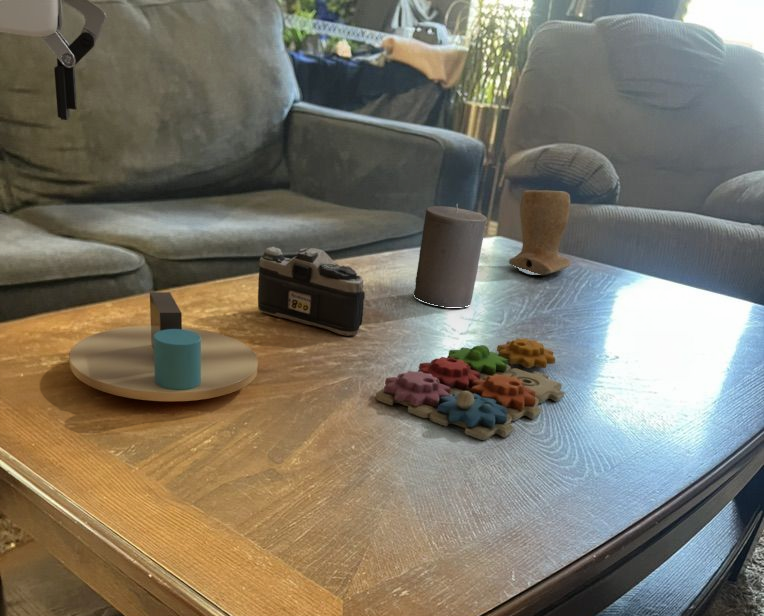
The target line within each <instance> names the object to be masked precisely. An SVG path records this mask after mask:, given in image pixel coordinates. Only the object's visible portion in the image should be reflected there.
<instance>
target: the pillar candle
mask: <svg viewBox="0 0 764 616" xmlns="http://www.w3.org/2000/svg"><path fill="white" fill-rule="evenodd" d="M458 205H459V203H456V204H455V207H454V206H444V205H443V206H442V205H440V206H438V205H436V206H428V207H427V208H426V210H425V214H424V222H423V228H422V236H421V242H420V247H419V256H418V262H417V269H416V276H415V286H414V291H413V293H414V295H415V297H416V298H418V299H420V300H422V301H424V302H427V303H430V304H434V305H438V306H444V307H465V306H468V305H470V306H471V303H472V301H473V295H474V290H475V284H476V280H477V275H478V267H479V263H480V258H481V252H482V246H483V243H484V236H485V230H486V225H487V220H488V218H487V216H485V215H484V214H482V213H480V212H476V211H472V210H470V209H469V210H468V209H464V208H459V206H458Z"/></svg>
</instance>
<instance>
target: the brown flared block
mask: <svg viewBox="0 0 764 616" xmlns="http://www.w3.org/2000/svg"><path fill="white" fill-rule="evenodd" d="M570 211H571V195H570V193H568V192H567V191H562V190H548V189H547V190H546V189H545V190H538V189H537V190H534V189H531V190H530V189H527V190H524V191H523V192H522V194H521V197H520V203H519V218H520V227H521V239H522V248H521V251H520V252H519V253H518V254H516V255H515V256H514V257H512V258H510V259H508V263H509V264H510V265H511V266H512V265H514V266H516V267H519V268H522V269H526V270H529V271H531V272H534V273H538V274H541V276H547V275H551V274H554V273H557V272H560V271H562V270H564V269H566V268H568V267H569V266H570V265H571V264H572V261H571V260H570V259H568V258H565V257H563V256H561V255H560V254H559V247H560V244H561V241H562V238H563V235H564V233H565V230H566V228H567V226H568V223H569V217H570Z"/></svg>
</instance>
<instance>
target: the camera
mask: <svg viewBox="0 0 764 616" xmlns="http://www.w3.org/2000/svg"><path fill="white" fill-rule="evenodd" d="M258 266H259V267H258V268H259V269H258V284H257V286H258V287H257V288H258V289H257V307H258V310H259V312H261V313H263V314H267V315H270V316H273V317H277V318H280V319H287V320H289V321H292V322H293V321H294V322H297V323H300V324H304V325H307V326H314V327H317V328H321V329H325V330H328V331H330V332H333V333H335V334H338V335H341V336H347V337H348V336H349V337H350V336H353V337H354V336H356V335H357V334H358V332H359V330H360V327H361V326H362V324H363V317H364V306H365V304H364V302H365V294H366V293H365V290H364V281H365V279H364V278H363V277H362V276H360V275H358V273H357V272H356V270H355V269H354V268H352V267H351V266H349V265H339V264H338V263H335V261H334V260H333V259H332V258H331V257H330V255H329V254H328V253H326V252H325V251H324V250H323V249H320V248H315V247H310V248H307V247H305V248H300V249H299V251H298V253H297V255H296V256H294V257H292V258H289V257H285V256H284V253H283V252H282V249H280V248H279V247H275V246H273V245H272V246H270V247H267V248H266V249H265V251H264V253H263V255H262V256H261V257H260V258H259V265H258Z"/></svg>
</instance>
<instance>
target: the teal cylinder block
mask: <svg viewBox="0 0 764 616" xmlns="http://www.w3.org/2000/svg"><path fill="white" fill-rule="evenodd" d="M153 338H154V370H155V382H156V384H157V385H159V386H161V387H163V388H167V389H172V390H187V389H192V388H195V387H197V386H199V385H200V383H201V337H200V335H198V334H197V333H195V332H192V331H188V330H183V329H167V330H161V331H158V332H156V333H155V334H154V336H153Z"/></svg>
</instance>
